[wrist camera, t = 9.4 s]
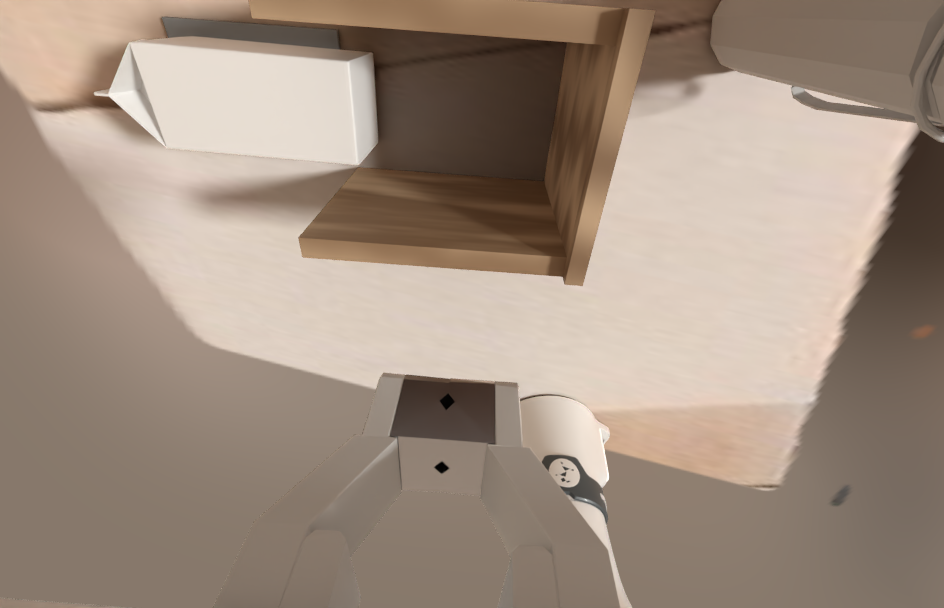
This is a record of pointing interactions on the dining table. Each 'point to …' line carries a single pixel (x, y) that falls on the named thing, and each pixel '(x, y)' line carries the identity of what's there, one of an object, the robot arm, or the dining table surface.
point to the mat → (252, 32)
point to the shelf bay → (488, 198)
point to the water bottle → (842, 53)
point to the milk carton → (250, 98)
